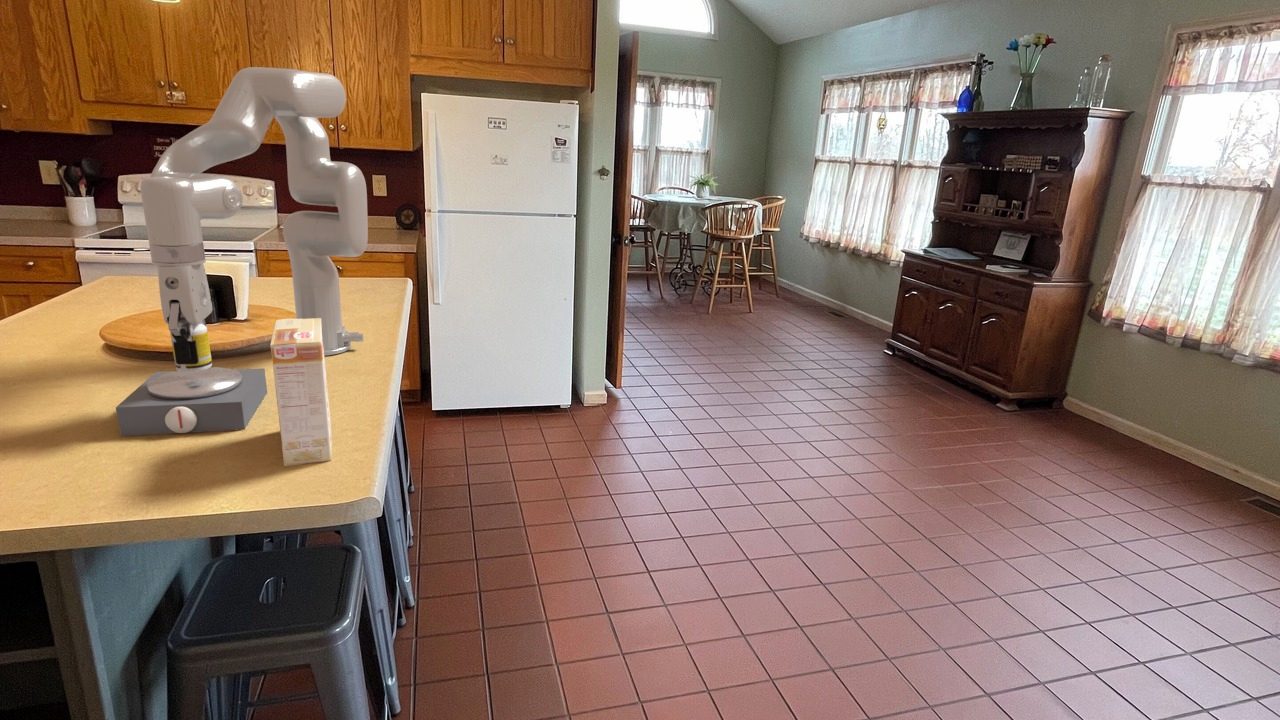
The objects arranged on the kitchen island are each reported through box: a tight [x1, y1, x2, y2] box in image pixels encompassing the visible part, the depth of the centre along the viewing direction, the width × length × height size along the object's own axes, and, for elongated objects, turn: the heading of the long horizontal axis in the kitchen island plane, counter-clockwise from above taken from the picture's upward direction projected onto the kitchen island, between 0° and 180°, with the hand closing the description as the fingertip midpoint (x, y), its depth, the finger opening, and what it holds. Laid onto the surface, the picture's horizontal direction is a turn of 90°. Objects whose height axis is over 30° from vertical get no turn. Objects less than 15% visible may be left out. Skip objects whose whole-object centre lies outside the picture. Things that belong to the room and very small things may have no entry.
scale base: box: [115, 368, 268, 437], centre depth 123 cm, size 18×19×5 cm
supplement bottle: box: [170, 320, 213, 372], centre depth 120 cm, size 5×5×10 cm
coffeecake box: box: [269, 318, 333, 467], centre depth 111 cm, size 15×7×20 cm, turn 23°
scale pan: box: [147, 366, 242, 399], centre depth 122 cm, size 14×14×1 cm
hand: (193, 357), depth 121 cm, fingers closed on supplement bottle, 5 cm apart
